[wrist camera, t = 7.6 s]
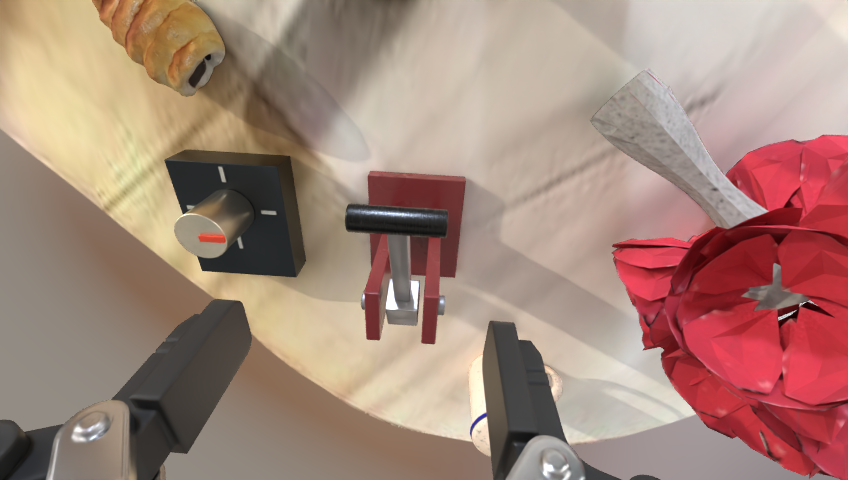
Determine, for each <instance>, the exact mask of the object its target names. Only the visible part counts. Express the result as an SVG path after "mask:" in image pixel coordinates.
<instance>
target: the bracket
mask: <svg viewBox="0 0 848 480" xmlns="http://www.w3.org/2000/svg"><path fill="white" fill-rule="evenodd" d="M464 191H465V177H458V176H441V175H425V174H409V173H393V172H376V171H370V173H369V174H368V193H369V205H381V206H397V207H412V208H428V209H444V210H448V229H447V237H446V238H432V237H417V236H410V258H411V275H424V276H426V278H425V290H424V305H423V322H422V340H421V342H422V343H423V344H435V339H436V327H437V315H444V308H445V296H439V278H440V277H455V272H456V263H457V254H458V245H459V236H460V227H461V218H462V209H463V200H464ZM370 245H371V272H370V275H369V278H368V282H367V285H366V288H365V290H364V291H363V294H362V300H361V307H362V309H363V310H365V320H366V338H367V339H368V340H380V338H381V333H382V328H383V323H384V319H385V314H386V301H387V294H388V287H389V280H390V279H392V275H391V266H390V258H389V250H388V241H387V235H386V234H371V233H370Z"/></svg>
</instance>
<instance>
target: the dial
mask: <svg viewBox="0 0 848 480" xmlns="http://www.w3.org/2000/svg"><path fill="white" fill-rule="evenodd" d="M253 221H254V210H253V207H252V205H251V204H250V202H249V201H248V200H247V199H246V198H245V197H244V196H243V195H241V194H240V193H238V192H236V191H233V190H228V189H222V190H218V191H216V192H214V193H213V194H211V195H210V196H208V197H207V198H206V199H204V200H203V201H202V202H200V203H199V204H197V205H196V206H195V207H193V208H192V209H190V210H189V211H188V212H186V213H185V214H183V215H182V216H181V217H179V218H178V219H177V221H176V223H175V226H174V231H175V235H176V237H177V239H178V241H179V242H180V244H181V245H182V246H183V247H184V248H185V249H186V250H188V251H189V252H191V253H192V254H194V255H197V256H199V257H203V258H215V257H218V256H220V255H222V254H223V253H224V252H225V251H226V250H227V249H228V248H229V247H230V246H231V245H232V244H233V243H234V242H235V241H236V240H237V239H238V238H239V237H240V236H241V235H242V234H243V233H244V232H245V231H246V230H247V229H248V228H249V227H250V225H251V224H252V223H253Z"/></svg>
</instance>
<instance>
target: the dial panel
mask: <svg viewBox="0 0 848 480" xmlns="http://www.w3.org/2000/svg"><path fill="white" fill-rule="evenodd" d="M165 163H166V166H167V169H168V172H169V175H170V178H171V181H172V184H173V187H174V190H175V193H176V196H177V198H178V201H179V204H180V207H181V210H182V213H183V214H185V213H186V212H188V211H189V210H190V209H192V208H193V207H195V206H196V205H197V204H199V203H200V202H202V201H203V200H204V199H206V198H207V197H208V196H210V195H211V194H213V193H214V192H216V191H218V190H222V189H228V190H233V191H236V192H238V193H240V194H241V195H243V196H244V197H245V198H246V199H247V200H248V201H249V202H250V204H251V205H252V207H253V210H254V221H253V223H252V224H251V225H250V227H249V228H248V229H247V230H246V231H245V232H244V233H243V234H242V235H241V236H240V237H239V238H238V239H237V240H236V241H235V242H234V243H233V244H232V245H231V246H230V247H229V248H228V249H227V250H226V251H225V252H224V253H223V254H222V255H220V256H218V257H215V258H203V257H199V256H197V257H198V260H199V263H200V266H201V269H202V271H212V272H226V273H241V274H256V275H270V276H285V277H297V276H298V274H299V272H300V271H301V269H302V267H303V265H304V264H305V262H306V258H305V251H304V245H303V238H302V232H301V225H300V219H299V212H298V206H297V199H296V192H295V186H294V179H293V173H292V166H291V160H290V156H282V155H265V154H249V153H232V152H216V151H199V150H184V151H182V152H180V153H177V154H175V155H173V156H171V157H169V158H167V159H165Z"/></svg>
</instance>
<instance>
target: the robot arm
mask: <svg viewBox="0 0 848 480" xmlns="http://www.w3.org/2000/svg"><path fill="white" fill-rule="evenodd" d="M251 340H252V337H251V332H250V328H249V324H248V321H247V317H246V313H245V310H244V306H243V304H242V302H241V301H235V300H222V299H215V300H213V301H211V302H210V304H209V305H208V306H207V307H206V308H205V309H204V310H203V312H202V313H201V314H195V315H193V316H192V317H190V318H189V319H187V320H185V321H184V322H182V323H181V324H180V325H178V326H177V327H176V328H175V329H174V331H173V332H172V333H171V334H170V335H169V336H168V337H167V338H166V341H165V342H163V343H162V344H161V345H160V346H159V347H158V348H157V349H156V352H155V353H153V354H152V355H151V356H150V357H149V358H148V360H147V361H146V362H145V363H144V364H143V365H142V366H141V367H140V369H139V370H138V371H137V372H136V373H135V374H134V375H133V376H132V377H131V379H130V380H129V381H128V382H127V383H126V384H125V385H124V386H123V388H122V389H121V390H120V391H119V392H118V393H117V394H116V395H115V396H114V397H113V398H112V399H111V400H106V401H102V402H98V403H95V404H93V405H91V406H89V407H87V408H85V409H83V410H81V411H80V412H78V413H76V414H75V415H74V416H72V417H71V418H70V419H69V420H68V421H67V422H65V424H61V425H56V426H51V427H46V428H42V429H37V430H32V431H27V432H24V431H23V430H22V429H21V428H20V427H19V426H18V425H17V424H16V423H15V422H14V421H11V420H0V480H166V476H165V467H164V464H163V463H164V461H165V460H166V458H167V457H168V455H169V453H170V452H175V453H186V454H187V453H188V451H189V450H190V448H191V446H192V445H193V443H194V441H195V440H196V438H197V436H198V435H199V433H200V431H201V430H202V428H203V427H204V425H205V423H206V422H207V420H208V418H209V417H210V415H211V413H212V412H213V410H214V408H215V407H216V405H217V403H218V402H219V400H220V399H221V397H222V395H223V393H224V392H225V390H226V389H227V387H228V385H229V384H230V382H231V380H232V379H233V377H234V375H235V374H236V372H237V371H238V369H239V367H240V365H241V364H242V362H243V360H244V359H245V357H246V356H247V354H248V352H249V349H250V346H251ZM482 375H483V384H484V394H485V403H486V413H487V423H488V432H489V442H490V452H491V461H492V471H493V480H621V479H619V478H616V477H614V476H611V475H609V474H607V473H604V472H602V471H599V470H597V469H595V468H593V467H591V466H590V465H588V464H587V463H585V462H584V461H583V460H581V459H580V458H579V456H578V455H577V453H576V452H575V451H574V450H573V449H572V448H571V447H570V446H569V444H568V442H567V440H566V438H565V436H564V433H563V429H562V426H561V422H560V419H559V415H558V412H557V408H556V405H555V401H554V398H553V395H552V391H551V388H550V386H549V381H548V377H547V374H546V373H545V367H544V363H543V360H542V356H541V354H540V353H539V351H538V350H537V349H536V347H535V346H534V345H533V343H532V342H531V341H527V340H518V336H517V331H516V327H515V324H514V323H513V322H500V321H490V322H489V326H488V331H487V336H486V341H485V346H484V351H483V358H482ZM630 480H660V479H658V478H655V477H653V476H649V475H637V476H634V477H632V478H631V479H630Z"/></svg>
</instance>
